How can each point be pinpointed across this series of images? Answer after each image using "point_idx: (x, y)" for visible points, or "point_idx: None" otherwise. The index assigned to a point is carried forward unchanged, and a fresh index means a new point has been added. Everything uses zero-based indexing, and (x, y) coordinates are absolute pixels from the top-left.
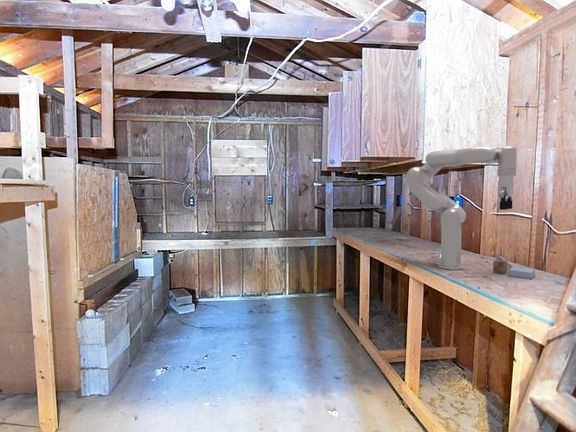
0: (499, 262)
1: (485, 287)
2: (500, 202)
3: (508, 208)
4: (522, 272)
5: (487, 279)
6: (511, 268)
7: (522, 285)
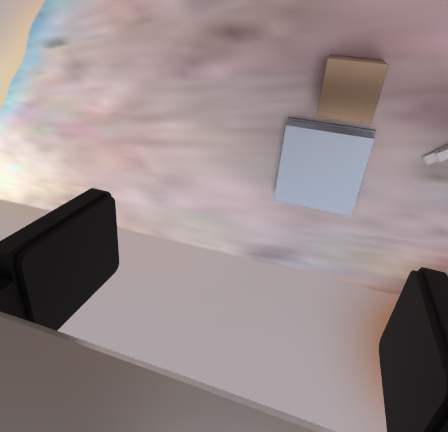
0: (322, 88)
1: (73, 62)
2: (14, 246)
3: (393, 313)
4: (279, 172)
5: (183, 51)
6: (325, 135)
7: (171, 161)
